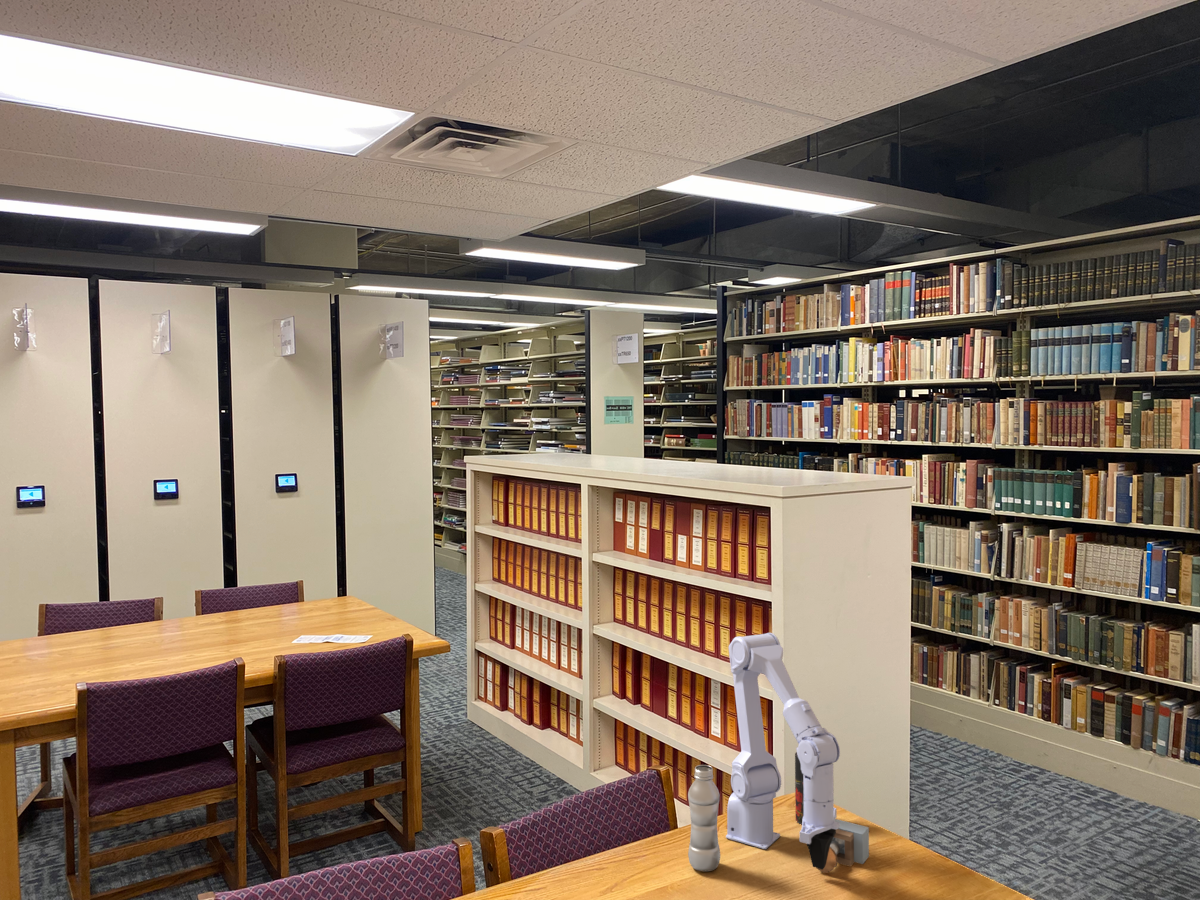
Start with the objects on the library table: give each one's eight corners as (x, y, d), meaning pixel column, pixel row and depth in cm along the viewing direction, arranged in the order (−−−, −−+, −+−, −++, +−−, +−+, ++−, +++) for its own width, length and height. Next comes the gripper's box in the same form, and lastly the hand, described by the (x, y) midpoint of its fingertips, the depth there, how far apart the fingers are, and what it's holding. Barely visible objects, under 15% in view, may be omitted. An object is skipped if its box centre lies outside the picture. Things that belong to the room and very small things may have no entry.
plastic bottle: (724, 863, 168) (724, 764, 168) (714, 878, 162) (714, 776, 162) (694, 857, 171) (693, 760, 171) (683, 872, 164) (683, 771, 165)
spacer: (819, 857, 170) (818, 828, 171) (822, 853, 172) (822, 824, 172) (850, 866, 167) (850, 836, 167) (853, 862, 168) (853, 833, 168)
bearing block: (815, 850, 173) (815, 822, 173) (822, 843, 177) (821, 815, 177) (862, 864, 167) (862, 834, 168) (868, 856, 171) (868, 827, 171)
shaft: (834, 875, 162) (834, 850, 162) (811, 868, 165) (811, 844, 165) (853, 853, 171) (853, 830, 171) (831, 847, 174) (830, 824, 174)
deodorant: (823, 827, 184) (822, 760, 184) (795, 825, 185) (795, 758, 186) (821, 816, 190) (821, 751, 190) (795, 814, 191) (794, 749, 191)
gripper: (824, 814, 154) (825, 888, 153) (851, 789, 165) (851, 857, 165) (788, 805, 158) (789, 877, 157) (817, 781, 169) (817, 848, 169)
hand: (818, 866), depth 162 cm, fingers closed
